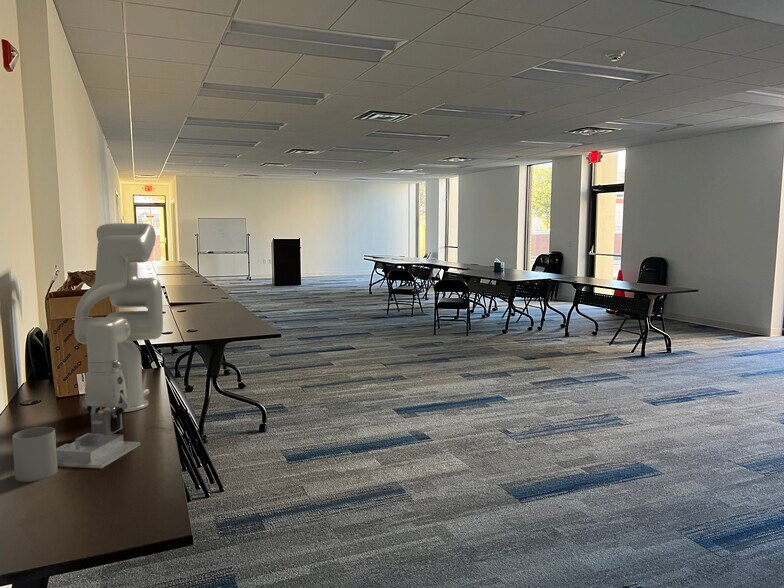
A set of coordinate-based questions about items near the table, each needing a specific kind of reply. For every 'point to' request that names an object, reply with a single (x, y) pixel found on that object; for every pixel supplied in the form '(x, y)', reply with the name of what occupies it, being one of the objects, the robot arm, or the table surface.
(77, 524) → the table surface
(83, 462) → the board
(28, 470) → the cup
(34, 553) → the table surface
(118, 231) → the robot arm
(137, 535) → the table surface
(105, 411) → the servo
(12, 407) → the table surface
